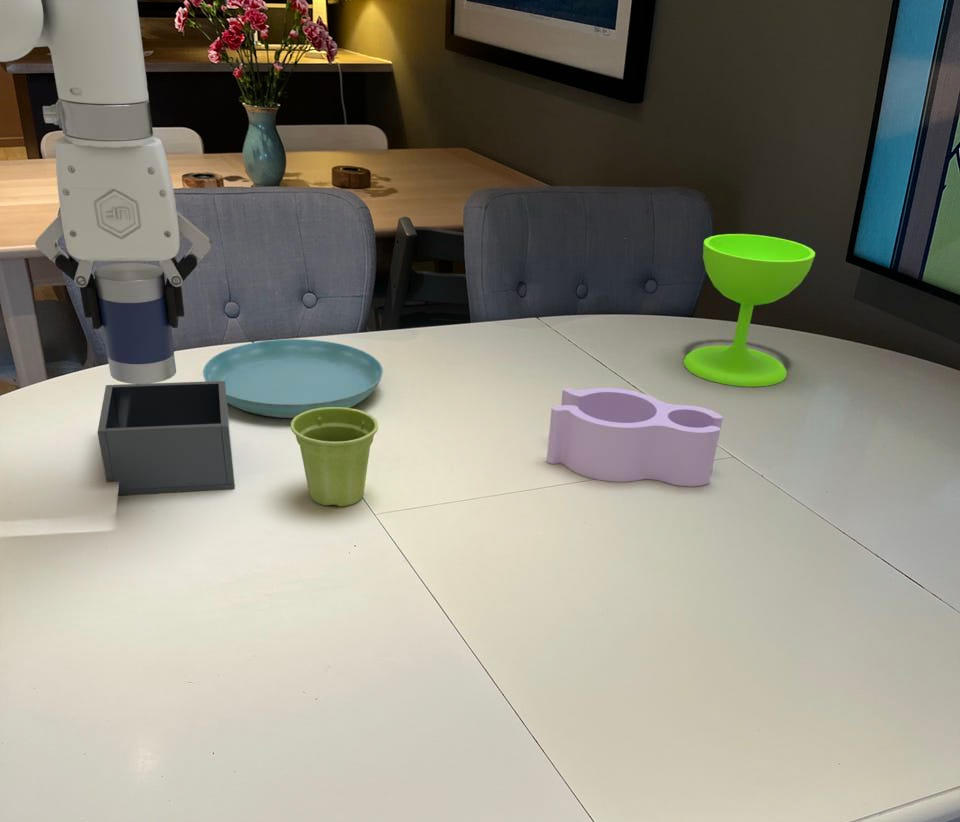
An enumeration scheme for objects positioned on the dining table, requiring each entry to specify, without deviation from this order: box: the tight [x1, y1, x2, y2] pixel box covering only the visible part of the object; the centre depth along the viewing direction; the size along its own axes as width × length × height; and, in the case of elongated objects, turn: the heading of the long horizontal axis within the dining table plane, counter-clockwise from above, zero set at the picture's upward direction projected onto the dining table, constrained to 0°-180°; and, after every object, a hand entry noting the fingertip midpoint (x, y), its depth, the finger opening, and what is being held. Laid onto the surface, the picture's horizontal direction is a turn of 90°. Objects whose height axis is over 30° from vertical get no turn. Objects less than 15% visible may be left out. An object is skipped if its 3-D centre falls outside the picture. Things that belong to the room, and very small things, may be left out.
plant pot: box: [290, 407, 379, 507], centre depth 110 cm, size 9×9×9 cm
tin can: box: [93, 262, 177, 384], centre depth 98 cm, size 6×6×10 cm
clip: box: [546, 387, 724, 488], centre depth 121 cm, size 20×12×7 cm, turn 74°
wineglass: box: [682, 233, 816, 388], centre depth 149 cm, size 16×16×18 cm
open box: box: [97, 381, 236, 496], centre depth 114 cm, size 14×14×8 cm
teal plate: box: [202, 338, 384, 419], centre depth 136 cm, size 24×24×3 cm
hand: (136, 322), depth 98 cm, fingers closed on tin can, 6 cm apart
